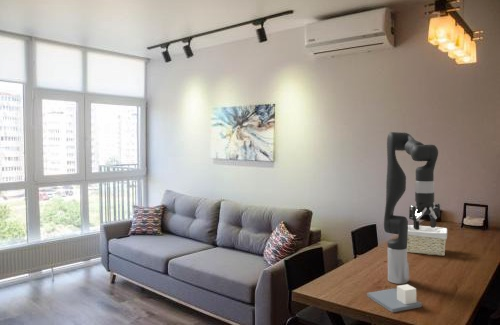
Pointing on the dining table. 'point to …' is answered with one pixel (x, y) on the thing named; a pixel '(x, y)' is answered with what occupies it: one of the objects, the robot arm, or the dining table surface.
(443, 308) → the dining table surface
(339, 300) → the dining table surface
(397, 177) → the robot arm
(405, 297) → the cream rounded cube
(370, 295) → the base plate
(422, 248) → the storage basket
